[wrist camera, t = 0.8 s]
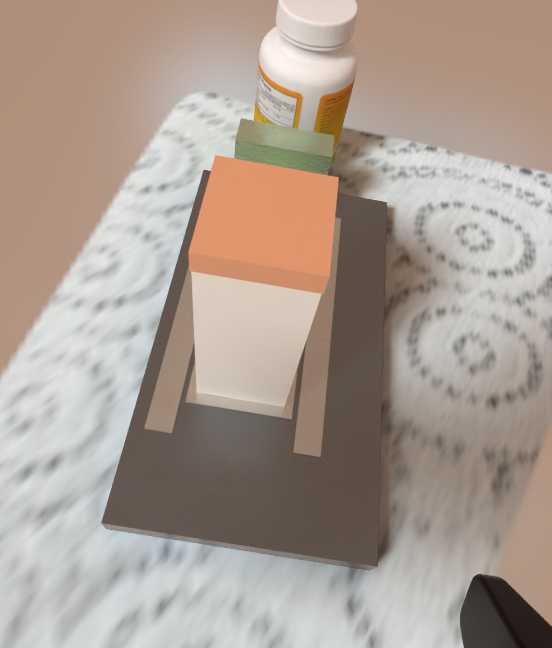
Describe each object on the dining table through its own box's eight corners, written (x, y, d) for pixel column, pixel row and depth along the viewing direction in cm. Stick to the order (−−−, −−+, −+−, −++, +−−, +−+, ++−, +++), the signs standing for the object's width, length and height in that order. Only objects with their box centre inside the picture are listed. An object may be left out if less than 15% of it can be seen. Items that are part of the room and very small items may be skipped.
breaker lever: (285, 408, 24) (329, 276, 15) (195, 393, 24) (188, 252, 15) (295, 331, 26) (338, 177, 17) (212, 317, 26) (215, 155, 17)
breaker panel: (369, 570, 22) (410, 552, 17) (106, 528, 22) (80, 500, 17) (381, 216, 32) (408, 148, 28) (203, 184, 32) (203, 111, 28)
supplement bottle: (328, 130, 36) (365, -23, 28) (336, 187, 33) (380, 37, 25) (249, 125, 35) (263, -33, 27) (251, 183, 33) (266, 27, 24)
